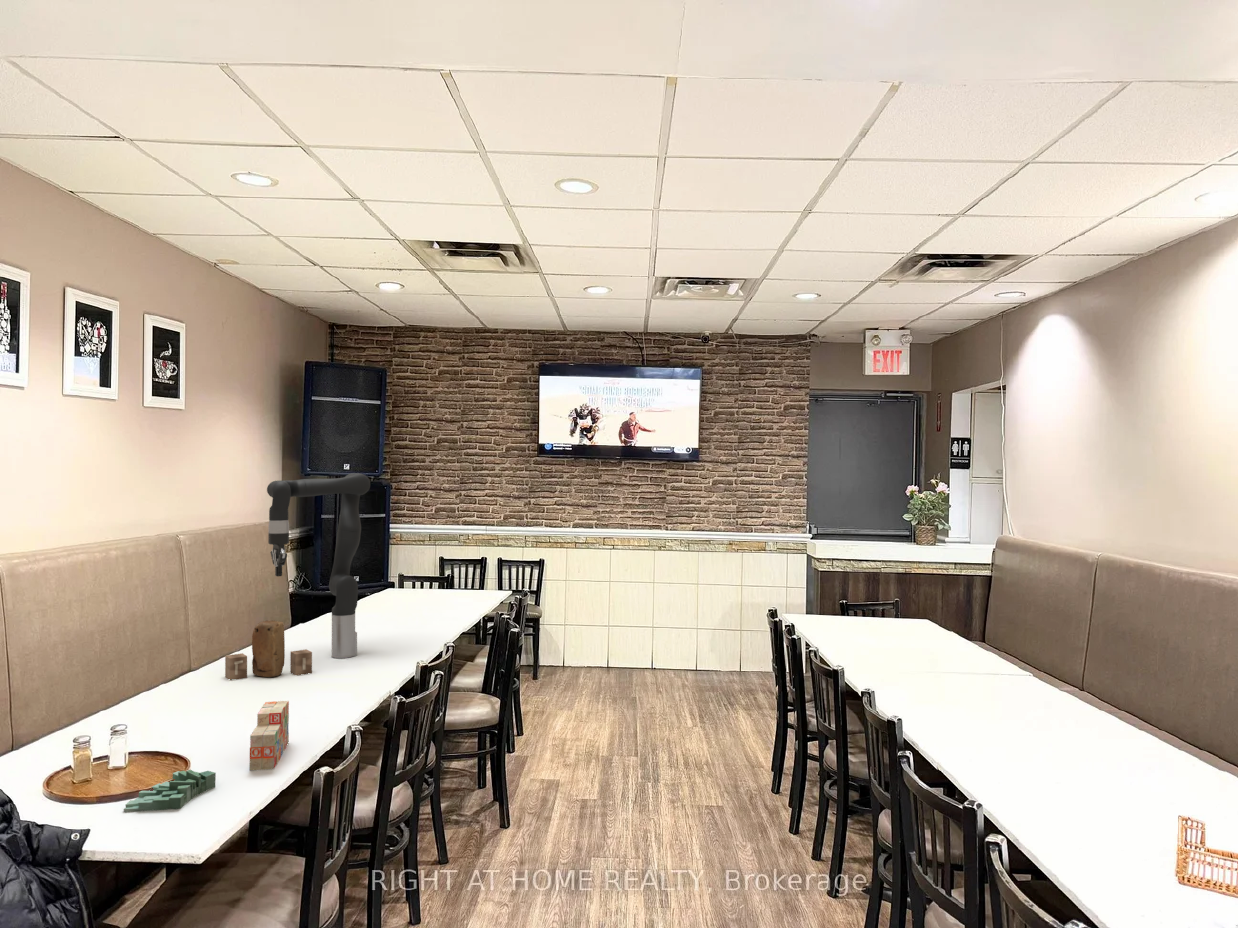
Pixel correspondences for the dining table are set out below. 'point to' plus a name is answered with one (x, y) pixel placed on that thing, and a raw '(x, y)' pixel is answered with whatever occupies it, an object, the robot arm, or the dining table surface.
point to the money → (173, 792)
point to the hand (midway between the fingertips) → (278, 576)
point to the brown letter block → (236, 666)
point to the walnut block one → (301, 662)
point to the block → (268, 648)
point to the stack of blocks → (269, 735)
